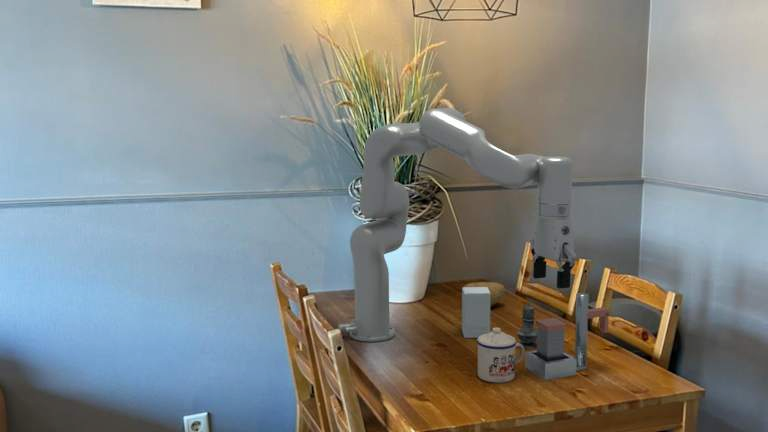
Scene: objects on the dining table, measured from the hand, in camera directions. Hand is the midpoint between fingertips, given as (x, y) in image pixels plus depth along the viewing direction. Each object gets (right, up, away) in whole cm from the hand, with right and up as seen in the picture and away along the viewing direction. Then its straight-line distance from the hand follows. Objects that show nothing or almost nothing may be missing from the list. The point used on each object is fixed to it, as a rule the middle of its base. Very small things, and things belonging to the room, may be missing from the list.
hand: (551, 282), depth 166 cm
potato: (-7, -13, +58) cm, 60 cm away
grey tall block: (+1, -22, +3) cm, 22 cm away
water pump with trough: (+6, -21, +5) cm, 22 cm away
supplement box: (-13, -17, +32) cm, 39 cm away
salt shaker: (-1, -19, +22) cm, 29 cm away
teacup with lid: (-11, -22, +1) cm, 25 cm away
